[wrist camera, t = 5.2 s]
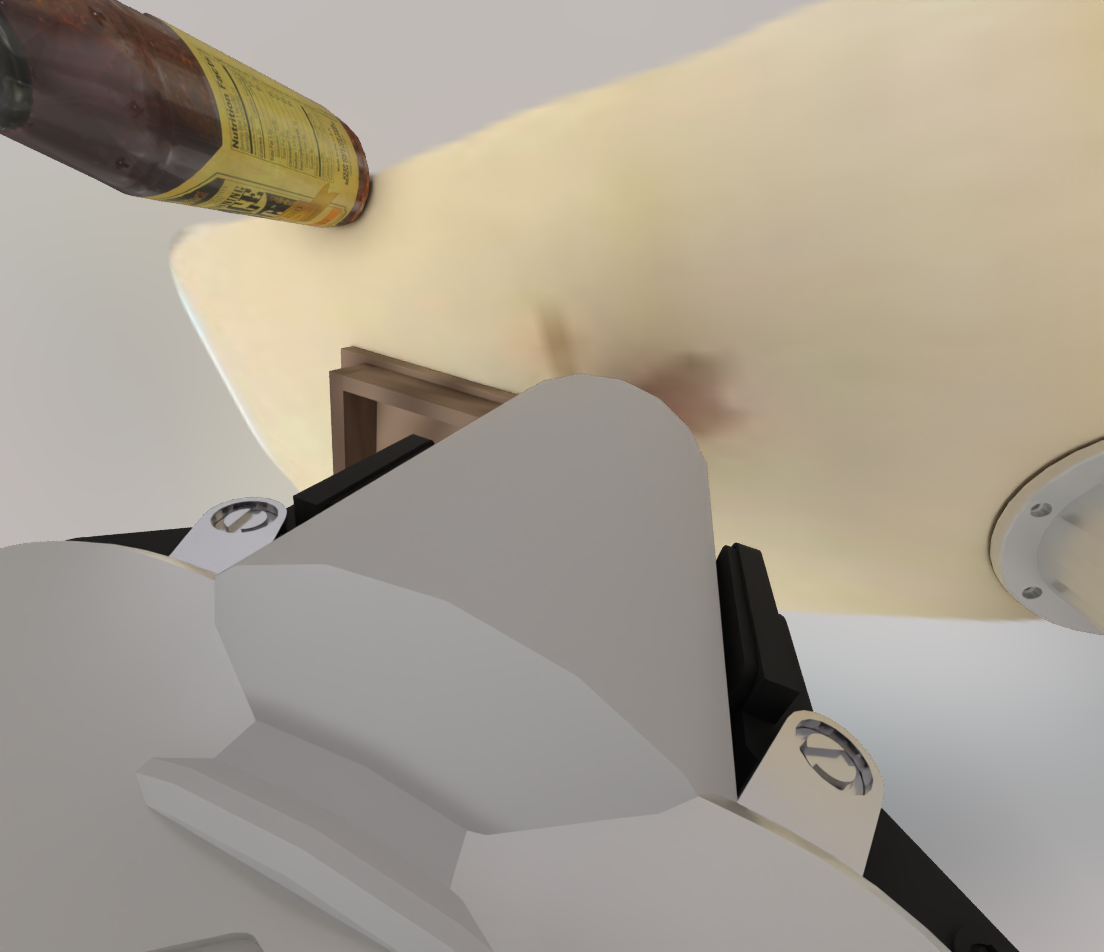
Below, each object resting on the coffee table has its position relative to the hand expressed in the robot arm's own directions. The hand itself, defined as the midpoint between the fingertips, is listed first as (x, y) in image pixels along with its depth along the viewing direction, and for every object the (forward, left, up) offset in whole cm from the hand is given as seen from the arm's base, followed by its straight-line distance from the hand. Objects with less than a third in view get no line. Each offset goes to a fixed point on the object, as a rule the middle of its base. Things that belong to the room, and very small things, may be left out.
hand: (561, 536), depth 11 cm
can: (0, 0, -4) cm, 4 cm away
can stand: (+13, +9, -18) cm, 24 cm away
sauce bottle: (+22, -8, -18) cm, 29 cm away
